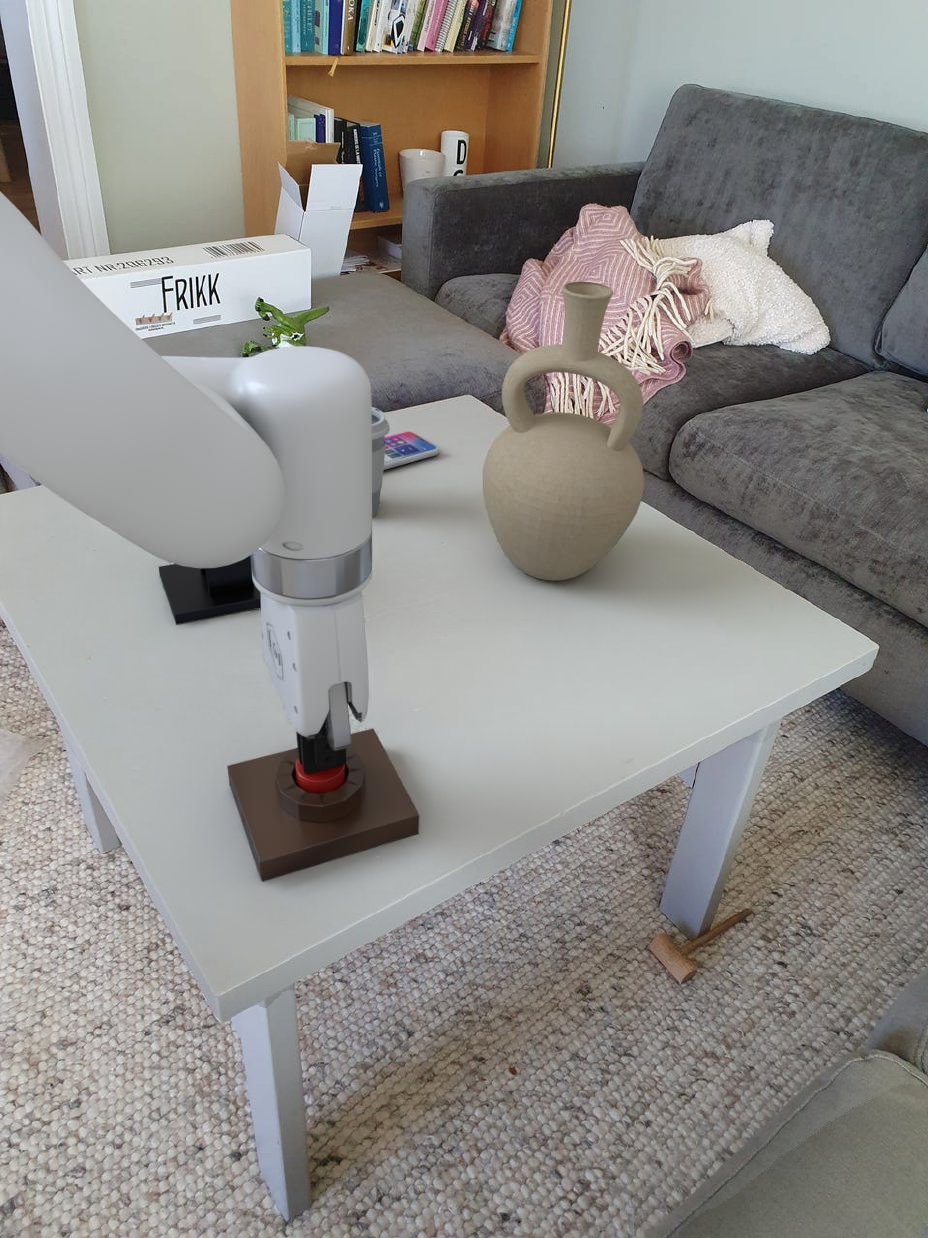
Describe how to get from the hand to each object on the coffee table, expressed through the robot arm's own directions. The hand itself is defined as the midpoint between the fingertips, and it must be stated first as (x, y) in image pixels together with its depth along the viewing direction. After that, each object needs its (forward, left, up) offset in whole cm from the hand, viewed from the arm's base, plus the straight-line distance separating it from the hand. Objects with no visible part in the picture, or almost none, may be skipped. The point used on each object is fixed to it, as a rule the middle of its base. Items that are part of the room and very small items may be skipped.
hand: (322, 762), depth 68 cm
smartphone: (+25, +55, -5) cm, 61 cm away
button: (0, 0, -2) cm, 2 cm away
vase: (+34, +25, -5) cm, 42 cm away
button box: (0, 0, -5) cm, 5 cm away
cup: (+18, +43, -5) cm, 47 cm away
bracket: (0, +32, -5) cm, 32 cm away
